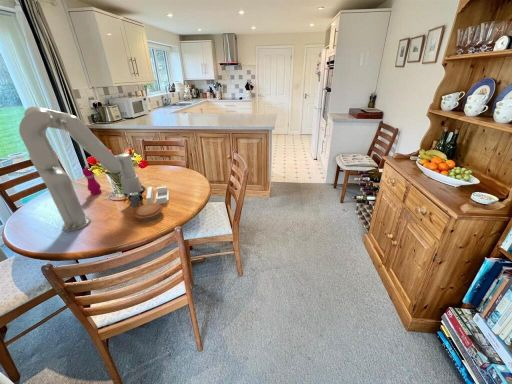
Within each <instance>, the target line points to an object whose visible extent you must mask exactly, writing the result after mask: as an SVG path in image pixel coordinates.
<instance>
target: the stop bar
mask: <svg viewBox="0 0 512 384" xmlns="http://www.w3.org/2000/svg"><path fill="white" fill-rule="evenodd" d="M130 195H131V196H130V201H131V202H130V201H129V202H130V204H131V207H137V206H138V207H140V205H141V201H140V198H139V193H138V192H136V193H130Z"/></svg>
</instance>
